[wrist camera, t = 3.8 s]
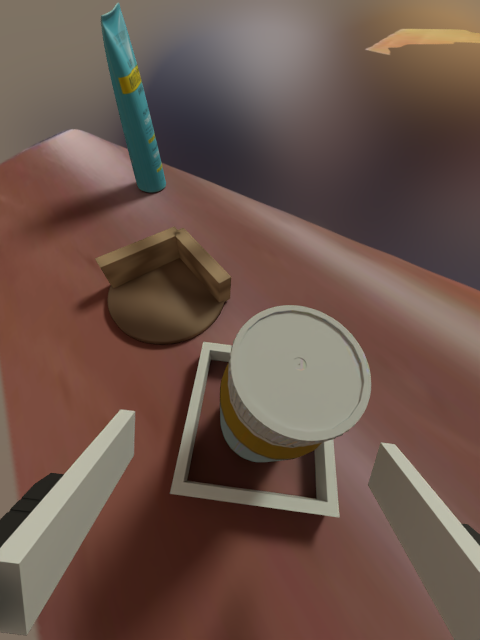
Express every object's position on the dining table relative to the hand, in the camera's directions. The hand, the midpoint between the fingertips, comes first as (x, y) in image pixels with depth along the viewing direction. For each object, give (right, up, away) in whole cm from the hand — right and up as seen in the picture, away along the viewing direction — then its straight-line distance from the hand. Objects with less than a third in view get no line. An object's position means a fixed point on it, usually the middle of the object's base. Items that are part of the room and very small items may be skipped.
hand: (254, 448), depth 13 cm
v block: (-10, +10, +17) cm, 22 cm away
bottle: (+1, -3, +10) cm, 11 cm away
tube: (-16, +31, +30) cm, 46 cm away
